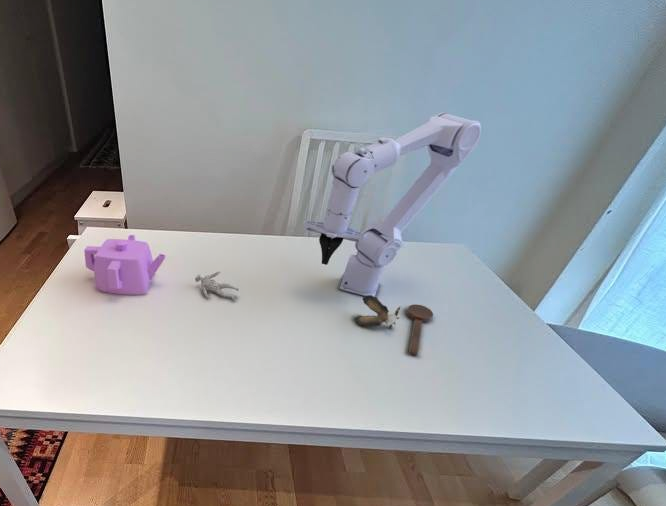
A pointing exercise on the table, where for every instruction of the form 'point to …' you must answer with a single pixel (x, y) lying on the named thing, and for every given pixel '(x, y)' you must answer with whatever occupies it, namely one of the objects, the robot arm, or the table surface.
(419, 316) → the round wooden paddle
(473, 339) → the table surface
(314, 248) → the table surface
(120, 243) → the teakettle
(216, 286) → the soldier figure
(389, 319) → the eagle figurine
